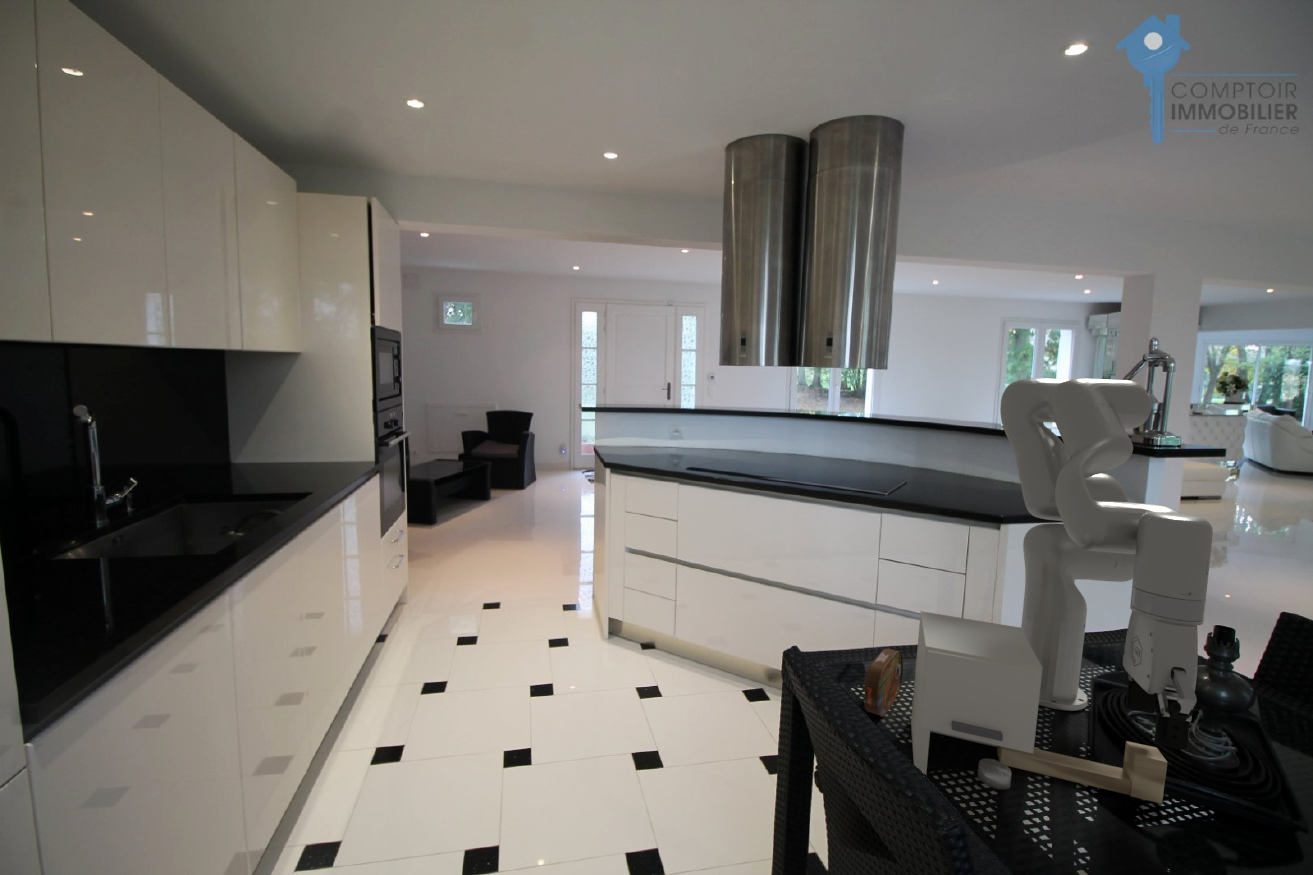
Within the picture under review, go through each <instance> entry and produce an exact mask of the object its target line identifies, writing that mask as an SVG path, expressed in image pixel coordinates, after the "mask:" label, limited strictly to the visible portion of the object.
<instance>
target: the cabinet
mask: <svg viewBox="0 0 1313 875" xmlns="http://www.w3.org/2000/svg"><path fill="white" fill-rule="evenodd" d="M918 625H919V626H918V628H919V629H918V636H917V637H918V639H917V647H916V648H917V649H916V650H917V651H916V658H915V659H916V661H915V673H914V681H913V682H914V685H913V694H912V695H913V696H912V706H911V707H912V708H911V716H910V717H911V718H910V726H911V727H910V728H911V739H912V740H911V742H912V756H913V758H912V759H913V766H914V765H915V766H916V767H917V768H919V769H920V770H921V771H922V773H924V774H925V775H926V776H927V768H928V758H929V747H930V739H931V738H930V737H931V735H930V734H931V733H935V734H938V735H944V736H948V737H952V738H955V739H961V740H966V741H969V742H974V743H978V744H982V745H987V746H991V747H994V748H997V746H1001V747H1006V748H1010V749H1015V750H1019V751H1023V752H1028V753H1032V754H1033V751H1034V748H1035V741H1036V730H1037V722H1038V714H1039V713H1038V712H1039V706H1040V705H1039V696H1040V687H1041V678H1042V669H1043V667H1042V666H1041V664H1040V662H1039V660H1038V658H1037V657H1036V655H1035V653H1034V651H1033V649H1032V648H1031V646H1030V644H1029V642H1028V640H1027V639H1026V637H1025V635H1024V633H1023V631H1022V630H1021V626H1020V627H1018V626H1013V625H1008V624H1001V623H994V622H989V621H982V620H976V619H970V618H964V617H958V616H952V615H947V614H945V615H944V614H939V613H935V612H934V613H933V612H929V611H927V612H926V611H920V616H919V624H918Z"/></svg>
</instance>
